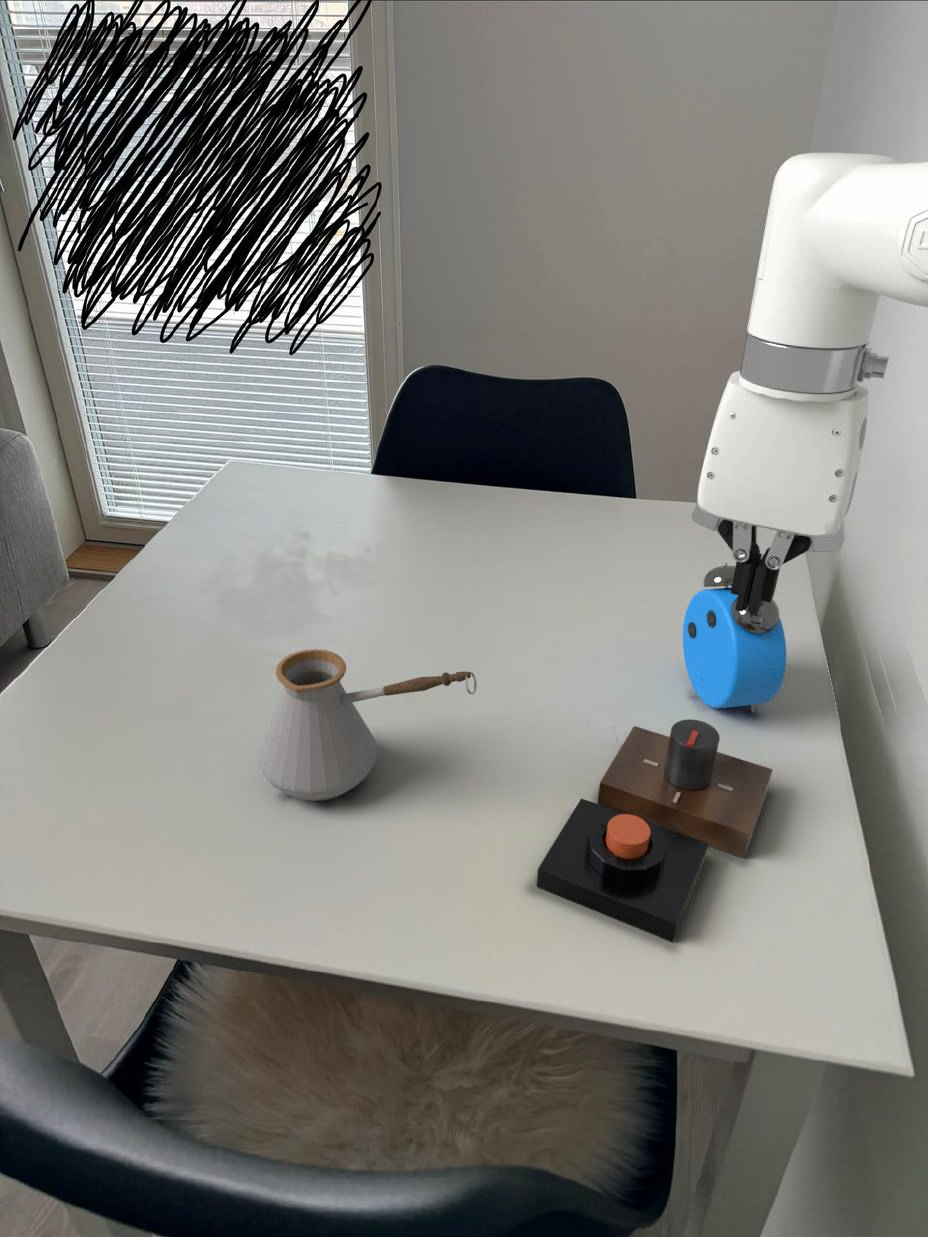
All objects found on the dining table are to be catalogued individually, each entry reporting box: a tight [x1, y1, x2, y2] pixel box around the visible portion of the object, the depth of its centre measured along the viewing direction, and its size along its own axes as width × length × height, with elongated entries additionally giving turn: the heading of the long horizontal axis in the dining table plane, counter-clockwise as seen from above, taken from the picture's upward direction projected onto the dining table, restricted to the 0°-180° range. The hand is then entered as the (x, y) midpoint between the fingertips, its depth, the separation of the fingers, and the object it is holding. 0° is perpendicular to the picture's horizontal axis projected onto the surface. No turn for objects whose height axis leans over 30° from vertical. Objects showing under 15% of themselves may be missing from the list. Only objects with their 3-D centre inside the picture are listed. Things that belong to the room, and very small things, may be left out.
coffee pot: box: [258, 648, 477, 802], centre depth 82 cm, size 21×12×15 cm, turn 76°
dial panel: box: [596, 725, 773, 859], centre depth 84 cm, size 14×10×3 cm
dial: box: [664, 718, 721, 790], centre depth 82 cm, size 4×4×5 cm
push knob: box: [606, 814, 651, 859], centre depth 74 cm, size 4×4×2 cm
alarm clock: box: [682, 562, 787, 713], centre depth 96 cm, size 13×6×15 cm, turn 11°
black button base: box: [536, 797, 709, 943], centre depth 76 cm, size 12×10×4 cm
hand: (749, 604), depth 67 cm, fingers closed
